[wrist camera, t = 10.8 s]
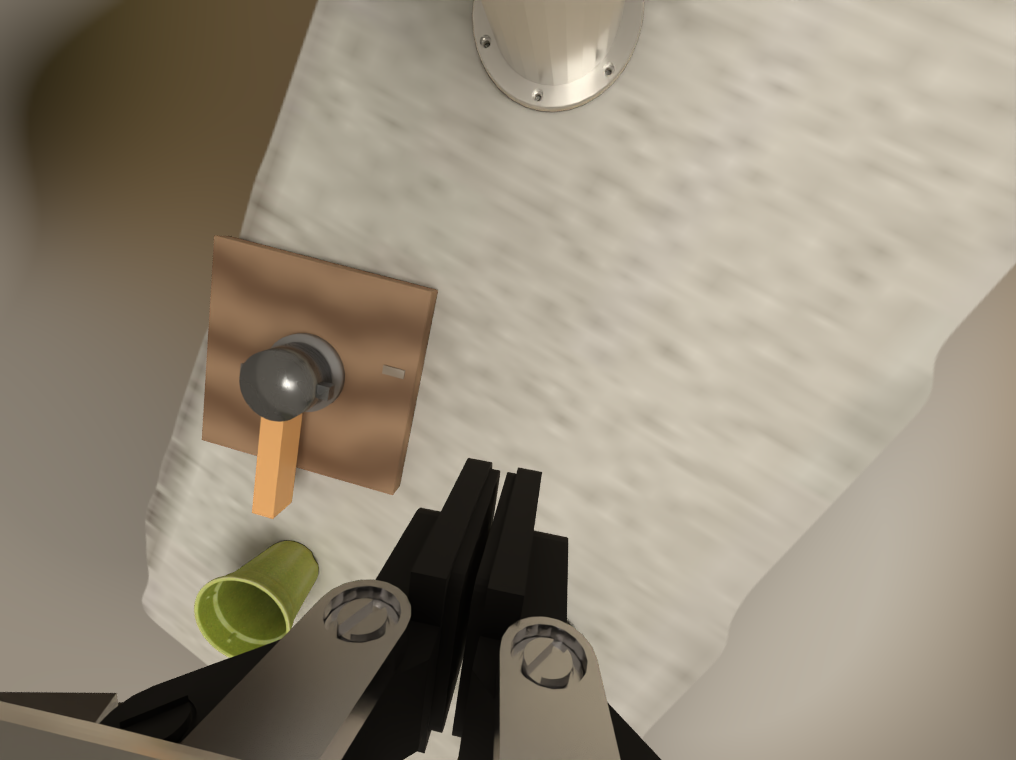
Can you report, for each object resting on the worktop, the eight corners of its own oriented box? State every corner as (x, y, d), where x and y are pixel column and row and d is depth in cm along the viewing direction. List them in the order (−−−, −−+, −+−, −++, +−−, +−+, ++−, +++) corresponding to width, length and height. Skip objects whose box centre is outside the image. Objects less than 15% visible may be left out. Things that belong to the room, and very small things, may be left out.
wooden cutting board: (229, 236, 44) (205, 235, 41) (438, 290, 43) (428, 292, 40) (216, 432, 50) (194, 443, 47) (399, 485, 48) (388, 500, 45)
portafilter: (346, 354, 42) (323, 364, 38) (324, 506, 46) (302, 530, 42) (261, 331, 42) (230, 339, 39) (247, 484, 47) (218, 505, 43)
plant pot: (262, 512, 51) (202, 562, 43) (343, 545, 51) (298, 602, 43) (246, 580, 54) (186, 640, 46) (322, 612, 54) (277, 677, 45)
